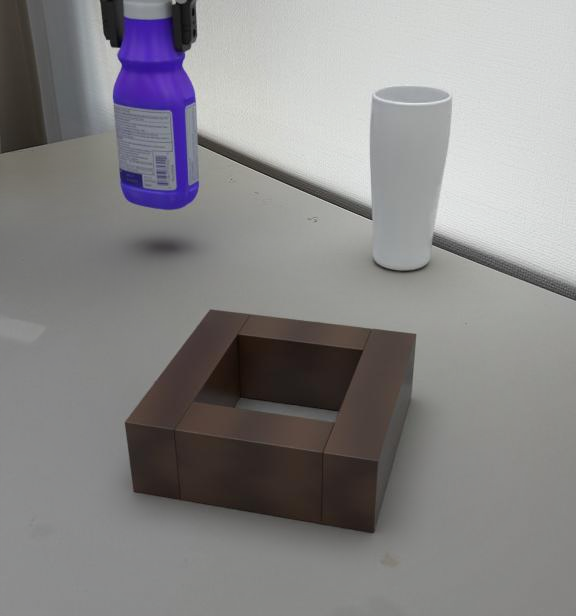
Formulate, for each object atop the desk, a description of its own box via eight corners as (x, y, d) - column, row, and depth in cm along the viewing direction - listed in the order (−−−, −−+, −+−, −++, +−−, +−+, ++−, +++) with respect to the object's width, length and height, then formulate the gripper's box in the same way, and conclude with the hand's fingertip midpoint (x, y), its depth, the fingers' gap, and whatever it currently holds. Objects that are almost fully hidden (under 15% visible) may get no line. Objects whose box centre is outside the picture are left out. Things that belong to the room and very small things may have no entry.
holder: (133, 491, 52) (124, 422, 49) (213, 370, 64) (209, 308, 61) (373, 533, 48) (378, 461, 46) (411, 396, 60) (416, 333, 58)
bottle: (211, 197, 82) (202, -3, 73) (179, 217, 77) (166, 6, 68) (145, 186, 84) (128, -9, 75) (111, 205, 80) (89, 0, 71)
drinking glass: (450, 256, 81) (467, 90, 73) (417, 282, 76) (430, 108, 68) (386, 241, 84) (395, 80, 76) (350, 265, 79) (355, 96, 71)
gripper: (21, -193, 63) (53, 52, 72) (207, -194, 60) (217, 62, 69) (69, -190, 69) (93, 36, 78) (240, -190, 66) (245, 44, 75)
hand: (151, 47), depth 74 cm, fingers closed on bottle, 5 cm apart
